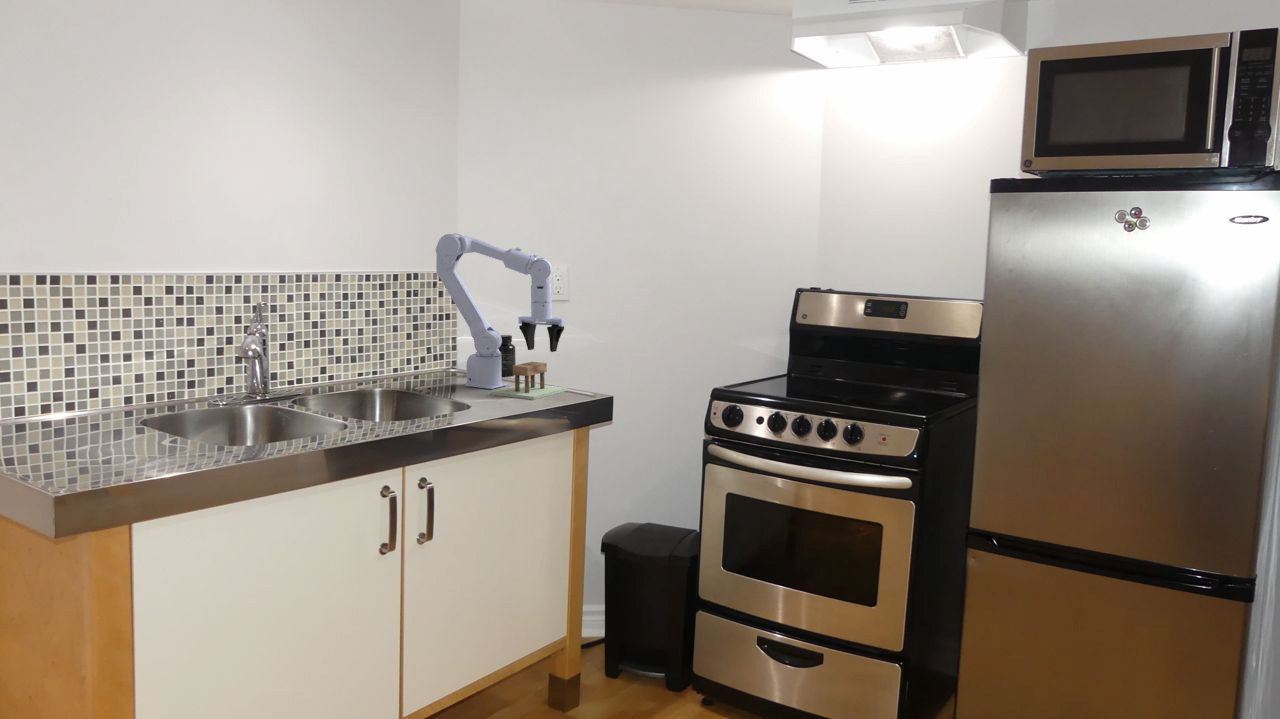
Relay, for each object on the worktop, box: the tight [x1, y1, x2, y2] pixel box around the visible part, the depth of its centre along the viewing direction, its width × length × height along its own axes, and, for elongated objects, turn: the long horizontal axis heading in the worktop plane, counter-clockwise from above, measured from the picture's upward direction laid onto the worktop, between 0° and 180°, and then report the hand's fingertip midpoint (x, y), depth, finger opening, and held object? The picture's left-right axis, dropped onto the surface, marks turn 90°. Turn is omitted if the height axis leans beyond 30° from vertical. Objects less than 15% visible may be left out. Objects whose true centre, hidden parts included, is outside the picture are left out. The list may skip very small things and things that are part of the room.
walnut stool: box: [513, 361, 548, 393], centre depth 263 cm, size 9×5×7 cm, turn 152°
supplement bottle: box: [498, 334, 517, 377], centre depth 291 cm, size 7×7×12 cm
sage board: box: [490, 382, 568, 401], centre depth 264 cm, size 14×16×1 cm
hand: (542, 350), depth 270 cm, fingers open, 7 cm apart
